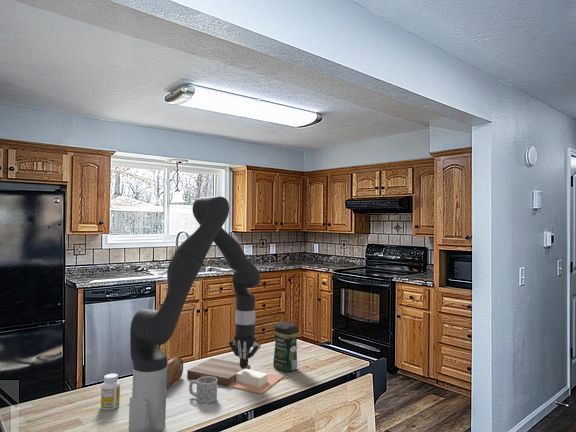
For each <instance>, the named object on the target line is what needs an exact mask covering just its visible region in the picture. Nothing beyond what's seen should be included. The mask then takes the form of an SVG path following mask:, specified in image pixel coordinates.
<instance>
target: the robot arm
mask: <svg viewBox="0 0 576 432" xmlns="http://www.w3.org/2000/svg"><path fill="white" fill-rule="evenodd" d="M191 210H192V214H193V217H194V219H195V221H196V222H197V223H198V224H199V227H198V228H196V230H195V231H193V233H192V234H191V235H189V236H188V237H187V238H186V239H185V240H184V241H182V243H180V245H179V246H178V247H177V249H176V250H175V251H174V253H173V256H172V257H171V258H170V261H169V262H168V265H167V269H166V277H167V278H166V281H167V290H166V291H167V293H166V295H165V298H164V301H163V303H162V304H161V307H160V308H159V310H157V309H151V308H142V309H140V310H138V311H137V312H135V314H134V316H133V318H132V320H131V323H130V329H129V331H130V332H129V339H130V341H129V343H130V358H131V361H132V364H133V366H132V369H133V370H132V396H130V397H129V406H128V407H129V409H128V432H161V431H162V430H164V429H165V427H166V421H167V420H166V417H167V413H166V412H167V411H166V410H167V388H166V386H167V361H168V355H167V354H166V353H165V352H164V351H163V350H162V349H160V347H159V346H163V345H165V344H166V343H168V341H170V339H171V337H172V336H173V334H174V332H175V331H176V327H177V325H178V322H179V319H180V316H181V314H182V310H183V307H184V305H185V303H186V300H187V298H188V295H189V294H190V291H191V289H192V287H193V284H194V282H195V281H196V279H197V276H198V275H199V273H200V270H201V268H202V266H203V264H204V261H205V258H206V257H207V255H208V253H209V250H210V249H211V247H212V245H213V243H214V244H215V245H216V246H217V248H218V249H219V251H220V252H221V254H222V256H223V258H224V260H225V261H226V263H227V266H228V267H229V268H230V269H231V270H233V274H232V285H233V289H234V290H233V291H234V294H235V298H236V303H235V304H236V305H235V315H234V316H235V317H234V334H235V335H234V337H233V339H232V340H229V341H228V346H229V347H230V348H231V350H232V352H233V354H234V355H235V357H238V358H239V363H240V367H241V369H246V368H247V367H248V365H249V359H251V358H253V357H254V356H255V354H256V353H257V352H258V351H259V350H260V348H261V347H262V346H261V344H260V343H257V341H256V338H255V337H256V320H257V319H256V296H255V295H254V294H253V293H251V292H250V291H249V289H254V288H255V287H258V285H260V281H261V274H260V272H259V270H258V268H257V267H256V266H255V264H253V262H251V260H250V259H249V258H247V256H246V254H245V252H244V250H243V247H242V246H241V245H240V243H239V242H238V241H237V240H236V239H235V238H234V237H233V236H232V235H231V234H230V233H228V232H227V230H225V229H224V228H223V226H224V224H225V223H226V220H227V219H228V217H229V213H230V204H229V200H227V199H226V197H224V196H220V195H218V196H217V195H215V196H214V195H213V196H201V197H198V198H196V199H195V201H194V202H193V203H192V209H191ZM248 288H249V289H248ZM251 348H252V350H251Z"/></svg>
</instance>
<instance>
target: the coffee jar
mask: <svg viewBox="0 0 576 432" xmlns="http://www.w3.org/2000/svg"><path fill="white" fill-rule="evenodd" d="M273 333H274V339H275V340H274V351H273V352H274V354H273V361H272V362H273V363H272V364H273V368H274V369H276V370H278V371H281V372H286V373H287V372H294V371H295V370H297V368H298V355H297V353H298V350H297V349H298V346H297V342H298V336H299V328H298V325H297V324H294V323H289V322H286V321H283V320H282V321H278V322H276V323H275V324H274V332H273Z"/></svg>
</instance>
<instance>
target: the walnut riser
mask: <svg viewBox="0 0 576 432" xmlns="http://www.w3.org/2000/svg"><path fill="white" fill-rule="evenodd" d="M246 369H250V370H251V364H248V367H247V368H246ZM242 370H244V369H241V367H240V362H235V361H230V360H224V359H219V358H213V357H211V358H209V359H207V360H204V361H203V362H201V363H198V364H197V365H194V366H193V367H191V368H189V369H187V371H186V376H187V377H186V379H190V380H197V379H198V378H201V377H206V376H211V377H215V378H217V386H223V387H226V388H229V387H228V386H229V385H230V384H232V383H233V382H235V381H236V373H238V372H240V371H242Z"/></svg>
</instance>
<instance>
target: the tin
mask: <svg viewBox="0 0 576 432" xmlns="http://www.w3.org/2000/svg"><path fill="white" fill-rule="evenodd" d="M183 373H184V362H183V358H182V357H180V356H178V357H177V356H176V357H175V356H174V357H171V358H170V359H169V360H168V359H167V386H166V389H170V388H172V387H173V386H174V385H175V384H176V383H177V382H179V381H180V380H181V378H182V376H183Z"/></svg>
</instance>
